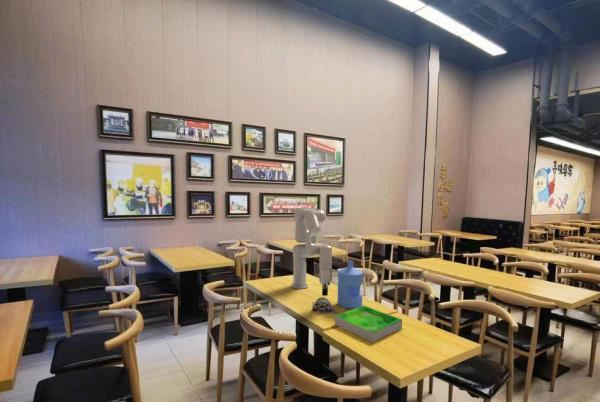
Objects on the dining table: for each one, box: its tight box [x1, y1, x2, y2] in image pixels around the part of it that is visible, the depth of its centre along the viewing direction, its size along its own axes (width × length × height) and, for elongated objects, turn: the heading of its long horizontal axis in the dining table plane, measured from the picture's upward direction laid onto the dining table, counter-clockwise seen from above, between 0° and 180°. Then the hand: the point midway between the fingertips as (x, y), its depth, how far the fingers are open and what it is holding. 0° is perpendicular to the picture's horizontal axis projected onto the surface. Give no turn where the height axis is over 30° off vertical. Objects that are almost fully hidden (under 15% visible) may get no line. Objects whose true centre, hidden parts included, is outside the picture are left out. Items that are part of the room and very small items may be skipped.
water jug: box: [337, 259, 364, 310], centre depth 192 cm, size 16×16×28 cm
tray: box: [334, 305, 403, 343], centre depth 162 cm, size 25×25×5 cm
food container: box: [311, 296, 333, 311], centre depth 184 cm, size 12×6×10 cm
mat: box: [311, 300, 339, 315], centre depth 187 cm, size 18×12×1 cm, turn 9°
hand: (324, 295), depth 187 cm, fingers closed
